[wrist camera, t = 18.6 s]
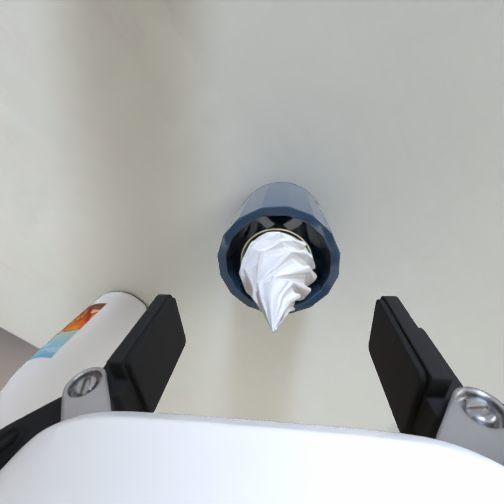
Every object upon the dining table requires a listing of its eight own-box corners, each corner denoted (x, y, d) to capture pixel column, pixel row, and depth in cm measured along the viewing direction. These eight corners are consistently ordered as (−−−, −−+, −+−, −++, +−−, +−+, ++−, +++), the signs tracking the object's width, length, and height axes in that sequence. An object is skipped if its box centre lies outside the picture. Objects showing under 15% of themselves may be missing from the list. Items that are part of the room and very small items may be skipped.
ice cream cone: (309, 241, 25) (337, 367, 11) (261, 252, 26) (235, 377, 13) (298, 193, 23) (317, 275, 10) (247, 207, 24) (199, 298, 11)
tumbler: (235, 184, 24) (210, 209, 16) (324, 179, 23) (344, 203, 15) (243, 260, 28) (225, 312, 20) (320, 260, 27) (335, 314, 18)
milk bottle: (141, 287, 31) (-55, 494, 13) (160, 334, 34) (23, 553, 16) (89, 291, 33) (-153, 484, 15) (112, 336, 36) (-65, 540, 18)
